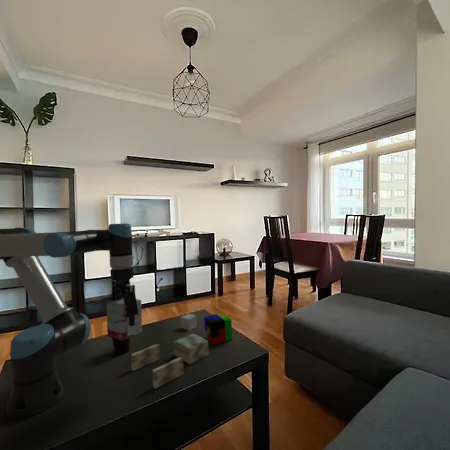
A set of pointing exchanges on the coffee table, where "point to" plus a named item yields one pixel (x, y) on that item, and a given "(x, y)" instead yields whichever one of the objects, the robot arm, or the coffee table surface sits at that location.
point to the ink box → (121, 319)
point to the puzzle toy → (218, 328)
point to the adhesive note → (189, 321)
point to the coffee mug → (121, 346)
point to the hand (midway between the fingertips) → (124, 330)
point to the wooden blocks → (183, 349)
